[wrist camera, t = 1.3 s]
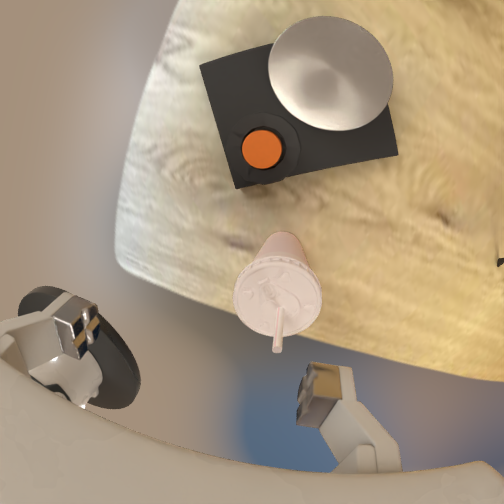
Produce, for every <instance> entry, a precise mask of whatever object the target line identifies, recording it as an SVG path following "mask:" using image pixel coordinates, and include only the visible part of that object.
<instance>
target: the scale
mask: <svg viewBox="0 0 504 504" xmlns="http://www.w3.org/2000/svg"><path fill="white" fill-rule="evenodd" d="M273 45H274V43H272V44H268V45H264V46H260V47H256V48H253V49H249V50H245V51H242V52H238V53H235V54H232V55H228V56H225V57H222V58H219V59H216V60H213V61H210V62H207V63H204V64H201V65H199V67H200V70H201V74H202V77H203V80H204V84H205V87H206V90H207V94H208V97H209V101H210V104H211V107H212V111H213V114H214V117H215V121H216V124H217V128H218V131H219V134H220V138H221V141H222V144H223V148H224V151H225V155H226V158H227V161H228V165H229V168H230V171H231V175H232V178H233V182H234V185H235V188H236V189H240V188H244V187H248V186H252V185H256V184H262V185H263V184H264V185H265V184H269V183H274V182H278V181H281V180H283V179H284V178H285V177H290V176H294V175H298V174H303V173H308V172H312V171H317V170H322V169H327V168H331V167H336V166H342V165H347V164H352V163H357V162H363V161H368V160H374V159H379V158H385V157H391V156H397V155H398V149H397V144H396V139H395V134H394V129H393V124H392V120H391V116H390V111H389V107H388V103H387V105H386V107H385V108H384V109H383V111H382V112H381V113H380V114H379V115H378V116H377V117H376V118H375V119H374V120H372V121H371V122H369V123H367V124H366V125H364V126H361V127H359V128H356V129H352V130H346V131H329V130H322V129H319V128H315V127H312V126H310V125H307V124H305V123H304V122H302V121H300V120H298V119H297V118H295V117H294V116H293V115H292V114H290V113H289V112H288V111H287V110H286V109H285V108H284V107H283V106H282V104H281V103H280V101H279V100H278V99H277V97H276V95H275V93H274V91H273V89H272V86H271V84H270V79H269V74H268V60H269V56H270V52H271V49H272V47H273ZM258 130H267V131H270V132H273V133H274V134H275V135H277V136H278V138H279V139H280V141H281V144H282V153H281V156H280V158H279V160H278V161H277V162H276V163H275V164H274V165H273V166H271V167H269V168H264V169H260V168H255V167H253V166H251V165H250V164H249V163H248V162H247V161H246V160H245V158H244V156H243V153H242V145H243V142H244V140H245V138H246V137H247V136H248V135H249V134H251V133H252V132H255V131H258Z"/></svg>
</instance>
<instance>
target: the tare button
mask: <svg viewBox="0 0 504 504" xmlns="http://www.w3.org/2000/svg"><path fill="white" fill-rule="evenodd" d="M242 153H243V156H244V158H245V160H246V161H247V162H248V163H249V164H250V165H251V166H253V167H255V168H260V169H264V168H269V167H271V166H273V165H274V164H275V163H276V162H277V161H278V160H279V158H280V156H281V153H282V144H281V141H280V139H279V138H278V136H277V135H275V134H274V133H273V132H270V131H267V130H258V131H255V132H252V133H251V134H249V135H248V136H247V137H246V138H245V140H244V142H243V145H242Z"/></svg>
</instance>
